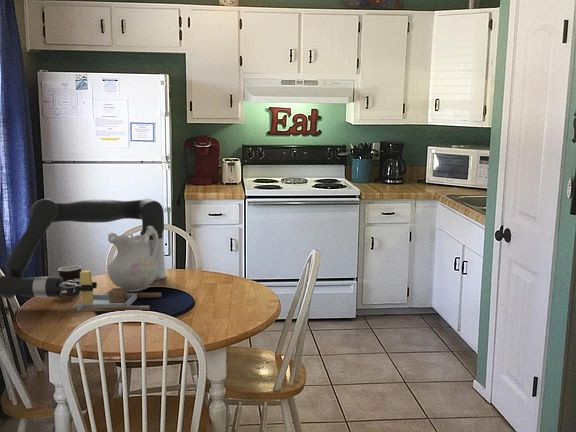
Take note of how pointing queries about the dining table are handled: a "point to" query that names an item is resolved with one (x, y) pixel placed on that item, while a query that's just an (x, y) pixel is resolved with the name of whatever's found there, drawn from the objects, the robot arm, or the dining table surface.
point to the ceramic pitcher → (134, 261)
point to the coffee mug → (70, 273)
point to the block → (118, 295)
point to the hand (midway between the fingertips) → (94, 286)
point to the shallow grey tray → (98, 299)
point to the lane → (119, 308)
